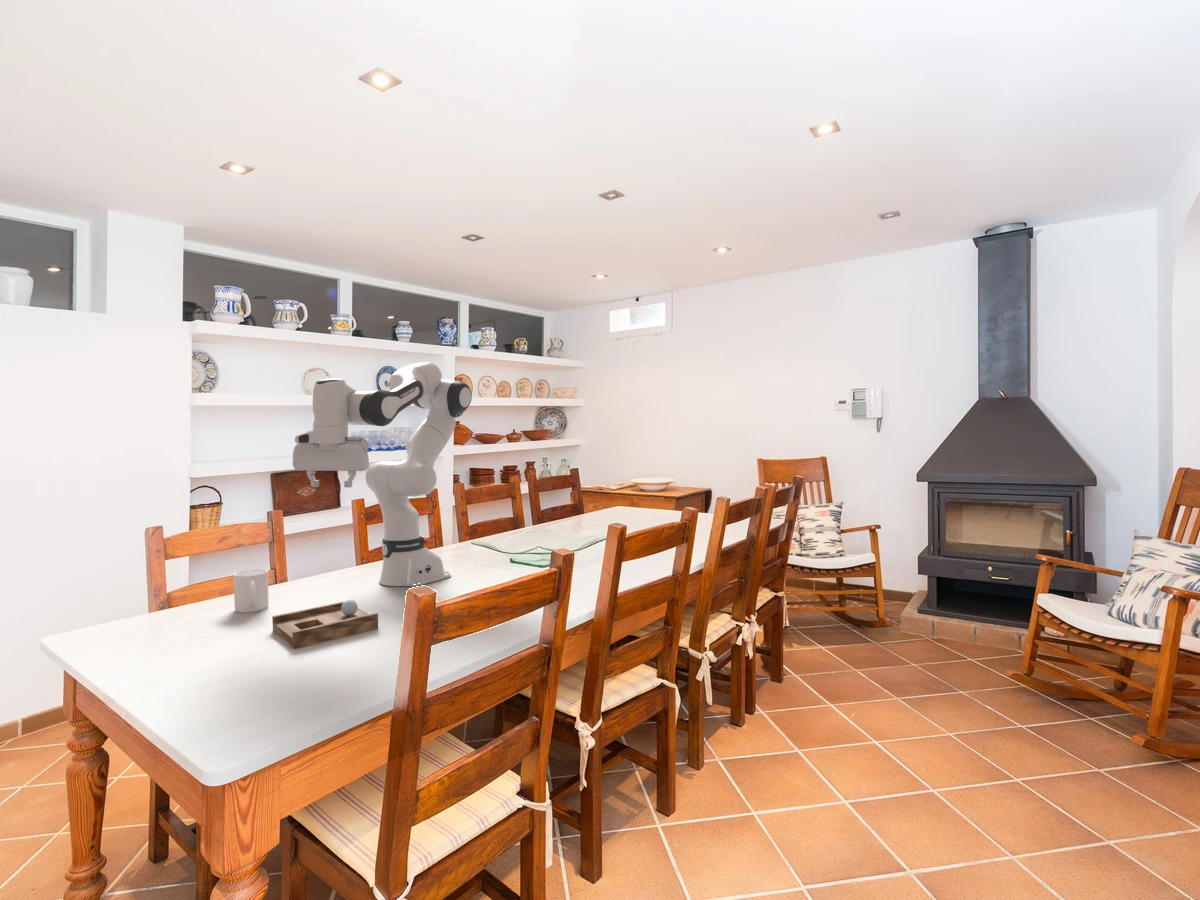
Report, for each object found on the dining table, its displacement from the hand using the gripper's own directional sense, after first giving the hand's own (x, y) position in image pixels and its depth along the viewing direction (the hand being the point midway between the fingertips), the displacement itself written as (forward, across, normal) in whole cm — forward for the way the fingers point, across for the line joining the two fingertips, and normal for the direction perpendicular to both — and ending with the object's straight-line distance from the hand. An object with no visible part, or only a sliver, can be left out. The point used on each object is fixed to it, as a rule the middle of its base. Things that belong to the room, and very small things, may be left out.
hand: (331, 487), depth 170 cm
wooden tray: (+34, -6, +17) cm, 39 cm away
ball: (+32, -10, +12) cm, 36 cm away
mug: (+34, +22, +3) cm, 41 cm away
